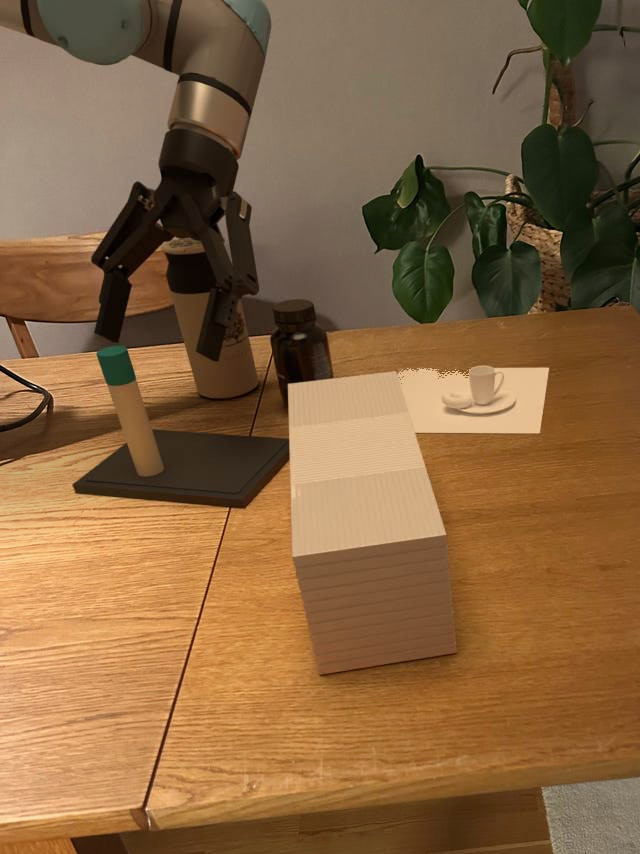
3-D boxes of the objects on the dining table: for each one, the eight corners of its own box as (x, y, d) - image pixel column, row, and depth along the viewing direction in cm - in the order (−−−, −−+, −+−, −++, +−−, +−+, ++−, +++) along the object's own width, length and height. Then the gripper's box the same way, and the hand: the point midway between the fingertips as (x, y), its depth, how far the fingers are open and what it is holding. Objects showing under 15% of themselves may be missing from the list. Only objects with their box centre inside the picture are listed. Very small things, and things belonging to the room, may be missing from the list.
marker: (131, 476, 89) (89, 355, 81) (146, 463, 91) (107, 344, 83) (155, 478, 89) (115, 356, 80) (169, 465, 91) (132, 346, 83)
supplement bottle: (272, 409, 104) (250, 311, 96) (303, 389, 109) (285, 293, 101) (317, 417, 101) (299, 316, 94) (348, 396, 106) (333, 298, 99)
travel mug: (187, 389, 111) (147, 243, 100) (241, 372, 115) (208, 229, 103) (215, 405, 106) (175, 254, 95) (270, 387, 110) (238, 239, 98)
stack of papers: (456, 653, 65) (446, 534, 58) (319, 675, 64) (292, 556, 57) (407, 469, 90) (395, 370, 83) (307, 482, 88) (287, 383, 82)
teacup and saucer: (439, 416, 100) (436, 383, 97) (449, 390, 106) (446, 358, 103) (512, 417, 99) (511, 383, 96) (518, 390, 105) (517, 358, 102)
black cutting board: (75, 492, 89) (71, 483, 89) (146, 436, 100) (144, 427, 99) (244, 508, 85) (241, 498, 84) (300, 447, 95) (299, 438, 95)
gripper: (323, 175, 86) (273, 377, 87) (136, 159, 95) (93, 343, 96) (283, 131, 79) (229, 351, 80) (85, 117, 87) (38, 317, 89)
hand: (155, 347), depth 88 cm, fingers open, 13 cm apart
